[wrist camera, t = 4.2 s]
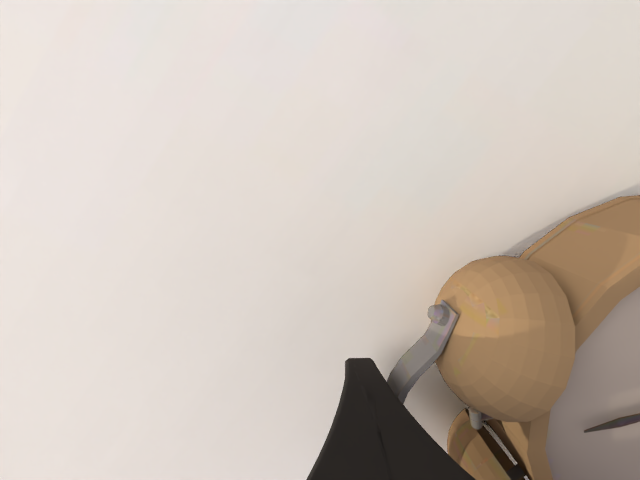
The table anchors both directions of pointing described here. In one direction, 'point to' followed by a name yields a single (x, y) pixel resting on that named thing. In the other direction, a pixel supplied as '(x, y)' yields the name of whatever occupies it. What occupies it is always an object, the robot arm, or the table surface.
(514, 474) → the alarm clock
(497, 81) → the table surface
